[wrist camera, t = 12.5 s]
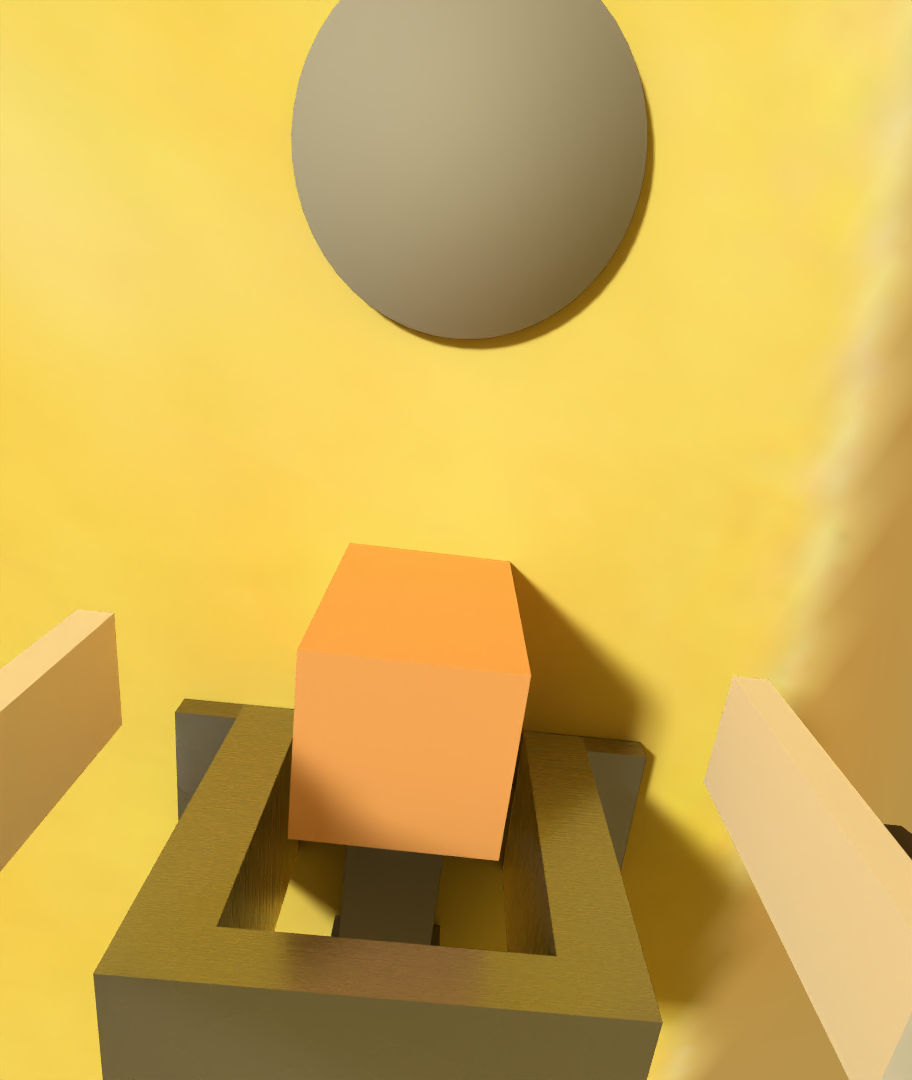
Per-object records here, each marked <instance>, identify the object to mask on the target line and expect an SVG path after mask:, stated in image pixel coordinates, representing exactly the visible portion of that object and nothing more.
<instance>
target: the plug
mask: <svg viewBox="0 0 912 1080" xmlns="http://www.w3.org/2000/svg"><path fill="white" fill-rule="evenodd" d="M530 680H531V672H530V667H529V661H528V656H527V651H526V645H525V640H524V635H523V629H522V624H521V619H520V613H519V608H518V603H517V597H516V592H515V587H514V581H513V576H512V571H511V565H510V562H508V561H499V560H491V559H482V558H474V557H465V556H457V555H448V554H439V553H431V552H422V551H414V550H405V549H397V548H388V547H380V546H371V545H362V544H354V543H350V544H349V546H348V548H347V550H346V552H345V554H344V556H343V558H342V560H341V562H340V564H339V566H338V568H337V570H336V572H335V574H334V576H333V578H332V580H331V582H330V584H329V586H328V588H327V590H326V592H325V594H324V597H323V599H322V601H321V603H320V605H319V607H318V609H317V611H316V613H315V615H314V617H313V619H312V621H311V623H310V625H309V627H308V629H307V631H306V633H305V635H304V637H303V639H302V641H301V643H300V645H299V647H298V649H297V666H296V686H295V705H294V725H293V744H292V764H291V784H290V803H289V823H288V839H294V840H303V841H313V842H323V843H332V844H342V845H347V849H346V860H345V872H344V883H343V895H342V907H341V916H335V919H334V924H333V929H332V933H331V937H341V938H352V939H363V940H375V941H386V942H398V943H409V944H420V945H432V946H439V937H440V926H434V925H433V923H434V916H435V909H436V902H437V895H438V888H439V881H440V874H441V867H442V860H443V855H447V856H457V857H467V858H476V859H486V860H495V861H499V855H500V850H501V844H502V838H503V833H504V827H505V821H506V816H507V810H508V804H509V799H510V793H511V787H512V782H513V776H514V770H515V765H516V759H517V753H518V748H519V742H520V736H521V731H522V725H523V719H524V714H525V708H526V702H527V697H528V691H529V685H530Z"/></svg>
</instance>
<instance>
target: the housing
mask: <svg viewBox="0 0 912 1080" xmlns="http://www.w3.org/2000/svg"><path fill="white" fill-rule="evenodd" d="M293 725H294V709H285V708H275V707H264V706H254V705H243V704H233V703H222V702H212V701H201V700H191V699H184V700H183V702H182V703H181V705H180V706H179V707H178V709H177V710H176V711H175V729H176V759H177V789H178V819H179V822H178V824H177V825H176V827H175V829H174V831H173V832H172V834H171V836H170V838H169V840H168V841H167V843H166V845H165V847H164V849H163V850H162V852H161V854H160V856H159V857H158V859H157V861H156V863H155V865H154V866H153V868H152V870H151V872H150V874H149V875H148V877H147V879H146V881H145V882H144V884H143V886H142V888H141V890H140V891H139V893H138V895H137V897H136V899H135V900H134V902H133V904H132V906H131V907H130V909H129V911H128V913H127V915H126V916H125V918H124V920H123V922H122V924H121V925H120V927H119V929H118V931H117V932H116V934H115V936H114V938H113V940H112V941H111V943H110V945H109V947H108V948H107V950H106V952H105V954H104V956H103V957H102V959H101V961H100V963H99V965H98V966H97V968H96V970H95V972H94V973H93V975H94V986H95V997H96V1009H97V1020H98V1031H99V1042H100V1053H101V1064H102V1075H103V1080H647V1077H648V1073H649V1069H650V1066H651V1062H652V1059H653V1055H654V1051H655V1048H656V1044H657V1041H658V1037H659V1033H660V1030H661V1026H662V1023H663V1022H662V1019H661V1015H660V1012H659V1008H658V1005H657V1001H656V997H655V994H654V990H653V987H652V983H651V980H650V976H649V973H648V969H647V965H646V962H645V958H644V955H643V951H642V948H641V944H640V940H639V937H638V933H637V930H636V926H635V923H634V919H633V915H632V912H631V908H630V905H629V901H628V898H627V894H626V890H625V887H624V883H623V880H622V876H621V873H620V871H621V866H622V862H623V857H624V853H625V849H626V844H627V840H628V835H629V831H630V827H631V822H632V818H633V814H634V809H635V805H636V800H637V796H638V792H639V787H640V783H641V779H642V774H643V770H644V765H645V761H646V755H645V752H644V750H643V747H642V745H641V742H632V741H621V740H611V739H600V738H590V737H579V736H569V735H558V734H548V733H537V732H527V731H524V735H523V742H522V748H521V754H520V761H519V767H518V773H517V780H516V786H515V792H514V799H513V805H512V811H511V818H510V824H509V830H508V837H507V843H506V849H505V856H504V862H503V868H502V875H503V890H504V904H505V919H506V933H507V947H508V952H500V951H489V950H477V949H466V948H455V947H443V946H432V945H420V944H409V943H398V942H386V941H375V940H363V939H352V938H341V937H329V936H318V935H306V934H295V933H284V932H274V930H275V927H276V923H277V920H278V917H279V914H280V910H281V907H282V904H283V900H284V897H285V894H286V891H287V887H288V884H289V881H290V878H291V874H292V871H293V868H294V865H295V861H296V858H297V855H298V849H299V840H294V839H288V823H289V803H290V784H291V764H292V744H293Z"/></svg>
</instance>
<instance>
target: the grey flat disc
mask: <svg viewBox="0 0 912 1080" xmlns="http://www.w3.org/2000/svg"><path fill="white" fill-rule="evenodd" d="M291 135H292V161H293V168H294V174H295V181H296V187H297V190H298V194H299V198H300V202H301V205H302V209H303V212H304V214H305V217H306V219H307V222H308V224H309V227H310V229H311V232H312V234H313V236H314V238H315V240H316V241H317V243H318V245H319V247H320V249H321V251H322V252H323V254H324V256H325V257H326V259H327V260H328V262H329V263H330V264H331V266H332V267H333V269H334V270H335V271H336V273H337V274H338V275H339V276H340V277H341V279H342V280H343V281H344V282H345V283H346V284H347V285H348V286H349V287H350V288H351V290H352V291H353V292H354V293H356V294H357V295H358V296H359V297H360V298H362V299H363V300H364V301H365V302H366V303H367V304H369V305H370V306H371V307H373V308H374V309H376V310H377V311H379V312H380V313H382V314H383V315H385V316H386V317H388V318H389V319H392V320H394V321H396V322H398V323H400V324H402V325H404V326H406V327H408V328H411V329H414V330H417V331H420V332H423V333H426V334H430V335H435V336H441V337H446V338H454V339H480V338H490V337H497V336H501V335H505V334H509V333H514V332H517V331H519V330H522V329H525V328H527V327H530V326H532V325H535V324H537V323H539V322H541V321H543V320H544V319H546V318H548V317H550V316H552V315H554V314H555V313H557V312H558V311H560V310H561V309H562V308H564V307H565V306H566V305H568V304H569V303H571V302H572V301H573V300H574V299H576V298H577V297H578V296H579V295H580V294H581V293H582V292H583V291H584V290H585V289H586V288H587V287H588V286H589V285H591V283H592V282H593V281H594V280H595V279H596V277H597V276H598V275H599V274H600V273H601V271H602V270H603V269H604V268H605V267H606V265H607V264H608V262H609V261H610V259H611V257H612V256H613V254H614V253H615V251H616V250H617V248H618V247H619V245H620V243H621V241H622V239H623V237H624V235H625V233H626V231H627V229H628V227H629V225H630V222H631V220H632V217H633V214H634V211H635V208H636V206H637V203H638V200H639V196H640V191H641V187H642V183H643V178H644V174H645V165H646V156H647V115H646V107H645V99H644V93H643V89H642V85H641V80H640V76H639V72H638V69H637V66H636V63H635V61H634V58H633V55H632V53H631V50H630V47H629V45H628V43H627V41H626V39H625V37H624V35H623V33H622V31H621V30H620V28H619V26H618V24H617V22H616V20H615V19H614V17H613V16H612V15H611V13H610V12H609V11H608V9H607V8H606V6H605V5H604V4H603V2H602V1H601V0H340V1H339V3H338V4H337V5H336V6H335V7H334V8H333V10H332V12H331V13H330V15H329V16H328V18H327V19H326V21H325V22H324V24H323V26H322V27H321V29H320V30H319V32H318V34H317V36H316V38H315V40H314V43H313V45H312V47H311V49H310V51H309V53H308V55H307V58H306V61H305V64H304V67H303V70H302V73H301V76H300V79H299V83H298V88H297V93H296V98H295V103H294V109H293V121H292V133H291Z"/></svg>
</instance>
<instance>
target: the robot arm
mask: <svg viewBox="0 0 912 1080" xmlns="http://www.w3.org/2000/svg"><path fill="white" fill-rule="evenodd" d="M121 725H122V718H121V704H120V690H119V675H118V661H117V647H116V633H115V619H114V613H109V612H100V611H90V610H80V609H77V610H76V611H75V612H73V613H72V614H71V615H69V616H68V617H67V618H66V619H64V620H63V621H62V622H60V623H59V624H58V625H57V626H55V627H54V628H53V629H51V630H50V631H49V632H48V633H46V634H45V635H44V636H42V637H41V638H40V639H39V640H37V641H36V642H35V643H33V644H32V645H31V646H30V647H28V648H27V649H26V650H24V651H23V652H22V653H21V654H19V655H18V656H17V657H15V658H14V659H13V660H12V661H10V662H9V663H8V664H6V665H5V666H4V667H3V668H1V669H0V871H1V870H2V869H3V868H4V867H5V865H6V864H7V863H8V862H9V860H10V859H11V858H12V857H13V856H14V854H15V853H16V852H17V851H18V850H19V848H20V847H21V846H22V845H23V844H24V842H25V841H26V840H27V839H28V838H29V836H30V835H31V834H32V833H33V831H34V830H35V829H36V828H37V827H38V825H39V824H40V823H41V822H42V821H43V819H44V818H45V817H46V816H47V815H48V813H49V812H50V811H51V810H52V809H53V807H54V806H55V805H56V804H57V802H58V801H59V800H60V799H61V798H62V796H63V795H64V794H65V793H66V792H67V790H68V789H69V788H70V787H71V786H72V784H73V783H74V782H75V781H76V780H77V778H78V777H79V776H80V775H81V773H82V772H83V771H84V770H85V769H86V767H87V766H88V765H89V764H90V763H91V761H92V760H93V759H94V758H95V757H96V755H97V754H98V753H99V752H100V751H101V749H102V748H103V747H104V746H105V744H106V743H107V742H108V741H109V740H110V738H111V737H112V736H113V735H114V734H115V732H116V731H117V730H118V729H119V728H120V726H121ZM704 784H705V786H706V788H707V790H708V792H709V794H710V796H711V798H712V800H713V802H714V804H715V806H716V808H717V810H718V812H719V814H720V816H721V818H722V821H723V823H724V825H725V827H726V829H727V831H728V833H729V835H730V837H731V839H732V841H733V843H734V845H735V847H736V849H737V851H738V853H739V855H740V857H741V859H742V862H743V864H744V866H745V868H746V870H747V872H748V874H749V876H750V878H751V880H752V882H753V884H754V886H755V888H756V890H757V892H758V894H759V896H760V898H761V900H762V902H763V905H764V907H765V909H766V911H767V913H768V915H769V917H770V919H771V921H772V923H773V925H774V927H775V929H776V931H777V933H778V935H779V937H780V939H781V941H782V943H783V945H784V948H785V950H786V951H787V954H788V956H789V958H790V960H791V962H792V964H793V966H794V968H795V970H796V972H797V974H798V976H799V978H800V980H801V982H802V984H803V986H804V989H805V990H806V992H807V995H808V997H809V999H810V1001H811V1003H812V1005H813V1007H814V1009H815V1011H816V1013H817V1015H818V1017H819V1019H820V1021H821V1023H822V1025H823V1027H824V1030H825V1031H826V1033H827V1036H828V1038H829V1040H830V1042H831V1044H832V1046H833V1048H834V1050H835V1052H836V1054H837V1056H838V1058H839V1060H840V1062H841V1064H842V1066H843V1068H844V1070H845V1073H846V1074H847V1077H848V1079H849V1080H912V834H911V833H910V832H908V831H907V830H906V829H905V828H903V827H902V826H897V825H886V824H883V823H882V822H881V821H880V820H879V818H878V817H877V816H876V815H875V813H874V812H873V811H872V809H871V808H870V807H869V806H868V805H867V803H866V802H865V801H864V799H863V798H862V797H861V796H860V794H859V793H858V792H857V791H856V789H855V788H854V787H853V786H852V784H851V783H850V782H849V780H848V779H847V778H846V777H845V775H844V774H843V773H842V772H841V770H840V769H839V768H838V767H837V765H836V764H835V763H834V762H833V760H832V759H831V758H830V757H829V755H828V754H827V753H826V751H825V750H824V749H823V748H822V746H821V745H820V744H819V743H818V741H817V740H816V739H815V738H814V736H813V735H812V734H811V733H810V731H809V730H808V729H807V728H806V726H805V725H804V724H803V723H802V721H801V720H800V719H799V717H798V716H797V715H796V714H795V712H794V711H793V710H792V709H791V707H790V706H789V705H788V704H787V702H786V701H785V700H784V699H783V697H782V696H781V695H780V694H779V692H778V691H777V690H776V688H775V687H774V686H773V685H772V683H771V682H770V681H769V680H768V679H759V678H749V677H739V676H733V677H732V680H731V684H730V688H729V691H728V695H727V699H726V703H725V706H724V710H723V714H722V717H721V721H720V725H719V728H718V732H717V736H716V739H715V743H714V747H713V750H712V754H711V758H710V761H709V765H708V769H707V772H706V776H705V780H704Z"/></svg>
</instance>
